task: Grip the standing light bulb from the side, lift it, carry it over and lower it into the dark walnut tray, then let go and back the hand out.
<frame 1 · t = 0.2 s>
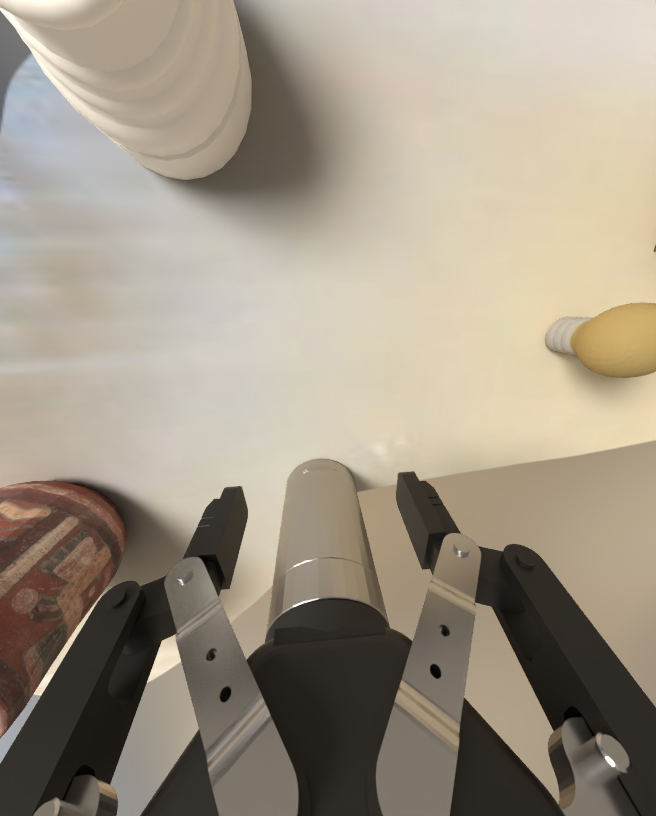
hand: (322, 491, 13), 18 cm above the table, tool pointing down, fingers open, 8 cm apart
pottery: (76, 515, 35), on the table
light bulb: (556, 333, 30), on the table
honey pot: (169, 79, 20), on the table
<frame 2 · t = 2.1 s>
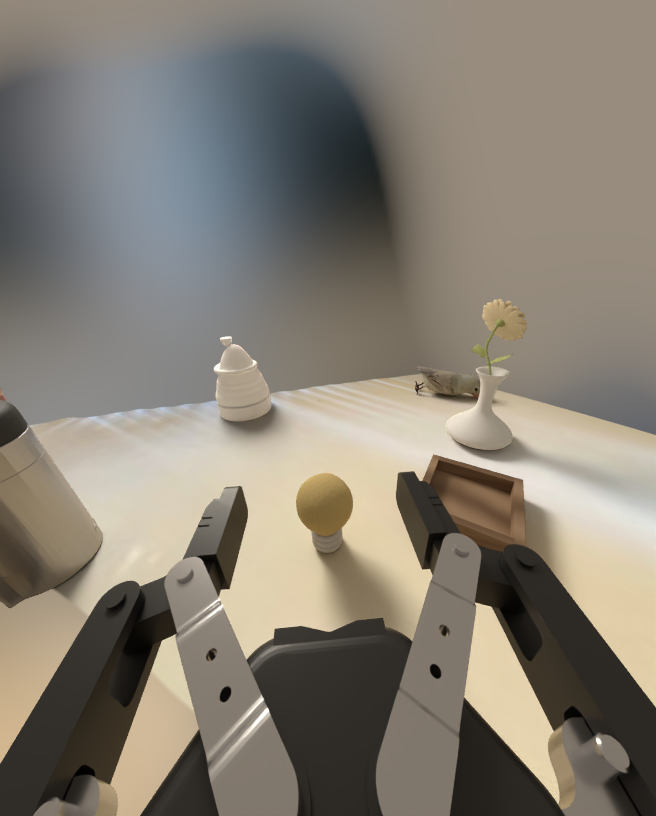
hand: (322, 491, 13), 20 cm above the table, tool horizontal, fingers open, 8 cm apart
walnut tray: (465, 508, 36), on the table
light bulb: (327, 542, 33), on the table
honey pot: (246, 409, 67), on the table
decorative bird: (444, 396, 68), on the table
flower in vase: (473, 436, 51), on the table
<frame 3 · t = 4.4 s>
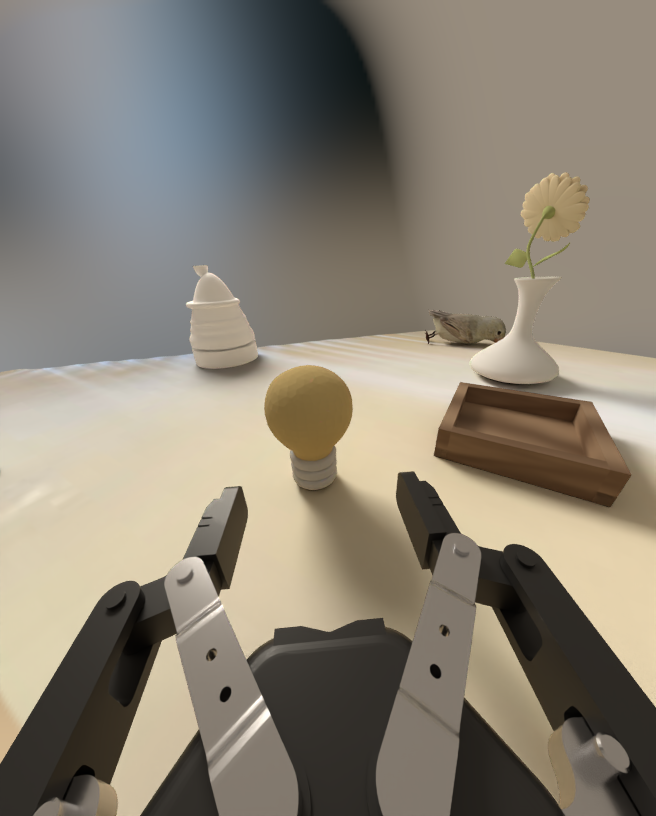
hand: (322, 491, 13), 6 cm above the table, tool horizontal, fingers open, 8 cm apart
walnut tray: (510, 440, 26), on the table
light bulb: (315, 480, 22), on the table
honey pot: (228, 359, 57), on the table
decorative bird: (460, 345, 58), on the table
flower in vase: (504, 376, 41), on the table
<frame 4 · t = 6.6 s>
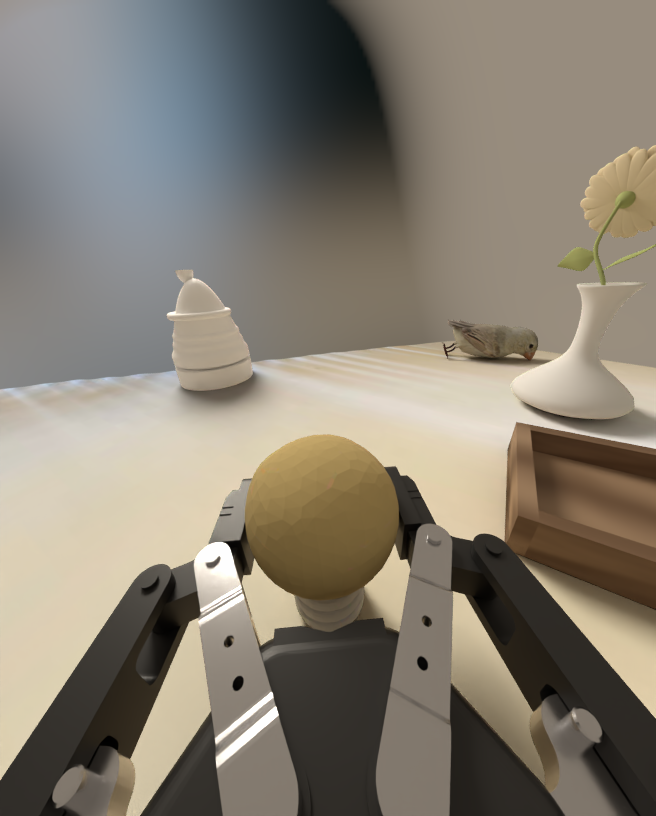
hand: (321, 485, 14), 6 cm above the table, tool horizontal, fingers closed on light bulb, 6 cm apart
walnut tray: (610, 519, 18), on the table
light bulb: (330, 599, 14), on the table, touching gripper
honey pot: (218, 378, 49), on the table
decorative bird: (484, 359, 51), on the table
flower in vase: (555, 404, 33), on the table
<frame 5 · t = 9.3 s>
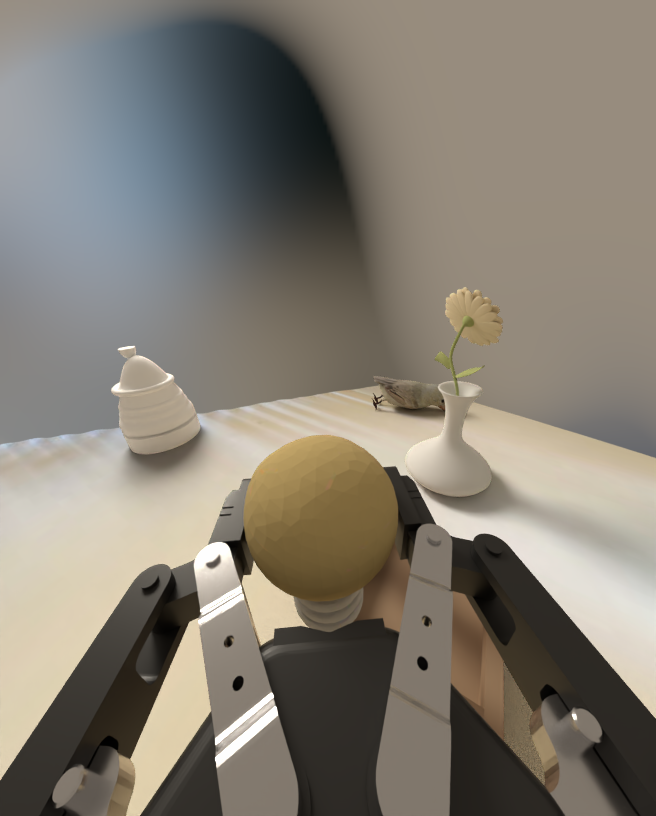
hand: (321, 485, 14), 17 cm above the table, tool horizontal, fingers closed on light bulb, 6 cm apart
walnut tray: (416, 607, 23), on the table
light bulb: (329, 599, 14), point 11 cm above the table, touching gripper
honey pot: (167, 436, 53), on the table
decorative bird: (408, 409, 57), on the table
flower in vase: (442, 471, 39), on the table
when the fingers open (8 cm above the table, at t = 12.2 s): light bulb drops 1 cm, resting on walnut tray.
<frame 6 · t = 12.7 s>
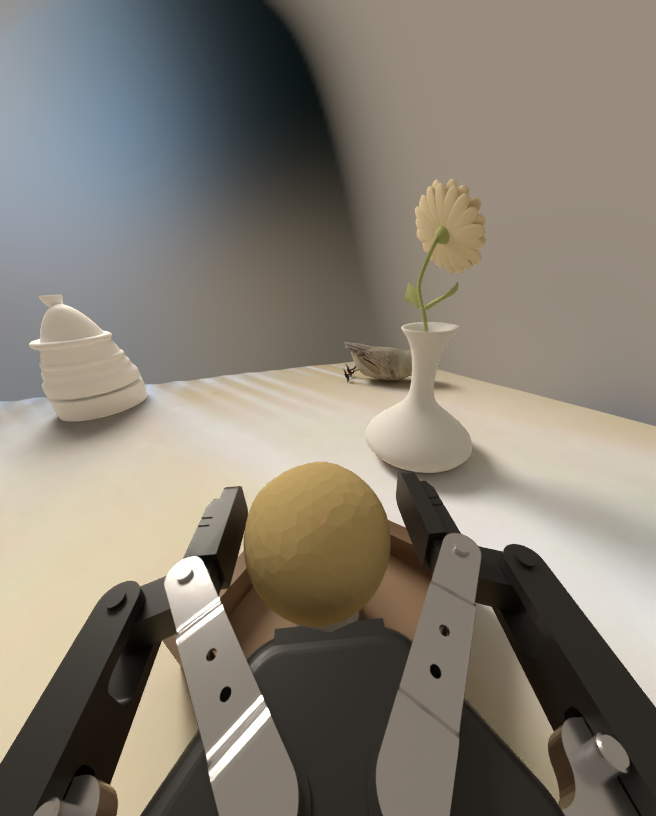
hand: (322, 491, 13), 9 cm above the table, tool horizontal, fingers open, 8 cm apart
walnut tray: (332, 620, 15), on the table
light bulb: (326, 615, 15), point 1 cm above the table, touching walnut tray
honey pot: (107, 404, 47), on the table
decorative bird: (385, 382, 50), on the table
flower in vase: (412, 446, 31), on the table
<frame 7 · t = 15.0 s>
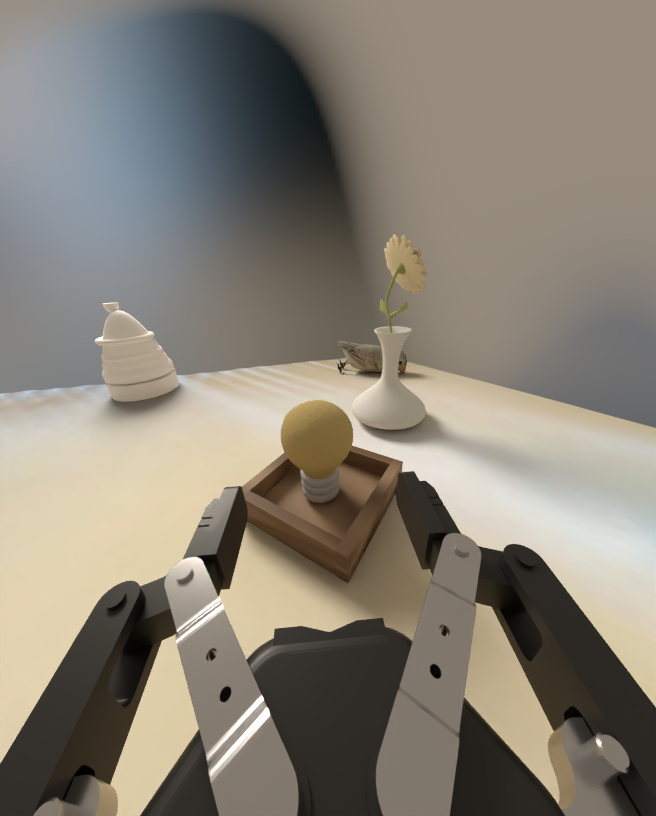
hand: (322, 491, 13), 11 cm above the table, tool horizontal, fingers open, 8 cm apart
walnut tray: (324, 498, 27), on the table
light bulb: (321, 494, 26), point 1 cm above the table, touching walnut tray
honey pot: (148, 390, 58), on the table
decorative bird: (370, 373, 61), on the table
flower in vase: (386, 416, 42), on the table
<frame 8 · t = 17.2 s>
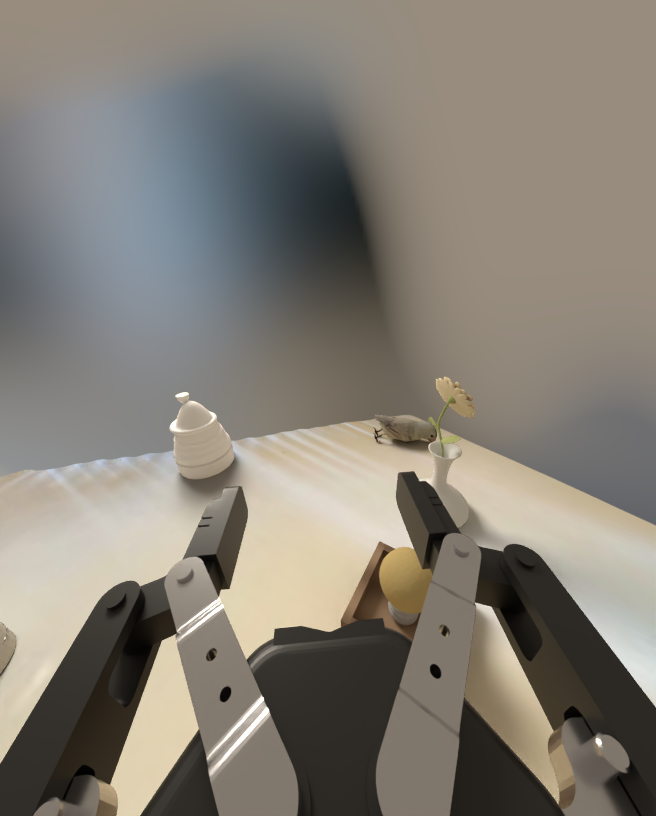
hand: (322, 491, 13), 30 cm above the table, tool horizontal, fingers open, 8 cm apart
walnut tray: (404, 613, 34), on the table
light bulb: (402, 611, 33), point 1 cm above the table, touching walnut tray
honey pot: (208, 462, 65), on the table
decorative bird: (403, 441, 69), on the table
flower in vase: (431, 506, 49), on the table
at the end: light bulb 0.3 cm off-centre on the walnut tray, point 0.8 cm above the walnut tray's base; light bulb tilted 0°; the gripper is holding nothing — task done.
